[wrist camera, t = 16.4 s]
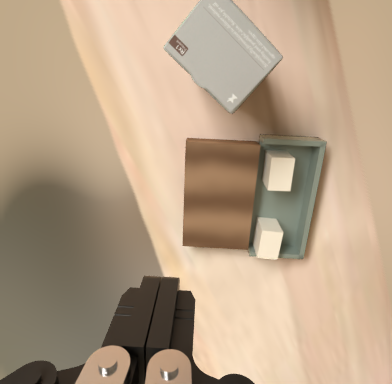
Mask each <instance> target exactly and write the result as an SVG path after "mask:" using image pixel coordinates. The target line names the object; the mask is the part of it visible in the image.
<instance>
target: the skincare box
mask: <svg viewBox="0 0 392 384" xmlns="http://www.w3.org/2000/svg"><path fill="white" fill-rule="evenodd" d="M163 48H164V50H165V51H166V52H167V53H168V54H169V55H170V56H171V57H172V58H173V59H174V60H175V61H176V62H177V63H178V64H179V65H180V66H181V67H182V68H184V69H185V70H186V71H187V72H188V73H189V74H190V75H191V77H192V79H193V81H194V82H195V83H196V84H197V85H198V86H200V87H201V88H204V89H205V90H206V91H207V92H208V93H209V94H210V95H211V96H212V97H213V98H214V99H215V100H216V101H217V102H218V103H219V104H220V105H221V106H222V107H223V108H224V109H225V110H227V111H228V112H229V113H231V114H233V113H234V112H235V111H236V110H237V109H238V108H239V107H240V105H241V104H242V103H243V102H244V101H245V100H246V99H247V98H248V97H249V96H250V94H251V93H252V92H253V91H254V90H255V89H256V88H257V87H258V86H259V84H260V83H261V82H262V81H263V80H264V79H265V78H266V77H267V76H268V74H269V73H270V72H271V71H272V70H273V69H274V68H275V67H276V65H277V64H278V63H279V62H280V61H281V60H282V58H283V56H282V55H281V54H280V53H279V51H278V50H277V49H276V48H275V47H274V46H273V45H272V44H271V42H270V41H269V40H268V39H267V38H266V37H265V36H264V35H263V34H262V33H261V31H260V30H259V29H258V28H257V27H256V26H255V25H254V24H253V22H252V21H251V20H250V19H249V18H248V17H247V16H246V15H245V14H244V13H243V12H242V11H241V10H240V9H239V8H238V6H237V5H236V4H235V3H234V2H233V1H232V0H200V1H199V2H198V3H197V5H196V6H195V7H194V8H193V10H192V11H191V12H190V14H189V15H188V16H187V17H186V19H185V20H184V21H183V22H182V24H181V25H180V26H179V27H178V29H177V30H176V31H175V33H174V34H173V35H172V37H171V38H170V39H169V40H168V42H167V43H166V44H165V46H164V47H163Z"/></svg>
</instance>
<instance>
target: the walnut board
mask: <svg viewBox="0 0 392 384" xmlns="http://www.w3.org/2000/svg"><path fill="white" fill-rule="evenodd" d="M259 155H260V144H259V143H258V142H257V141H237V140H217V139H196V138H187V140H186V154H185V186H184V219H183V246H193V247H210V248H228V249H246V250H248V246H249V238H250V229H251V221H252V213H253V204H254V196H255V188H256V179H257V171H258V163H259Z"/></svg>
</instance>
